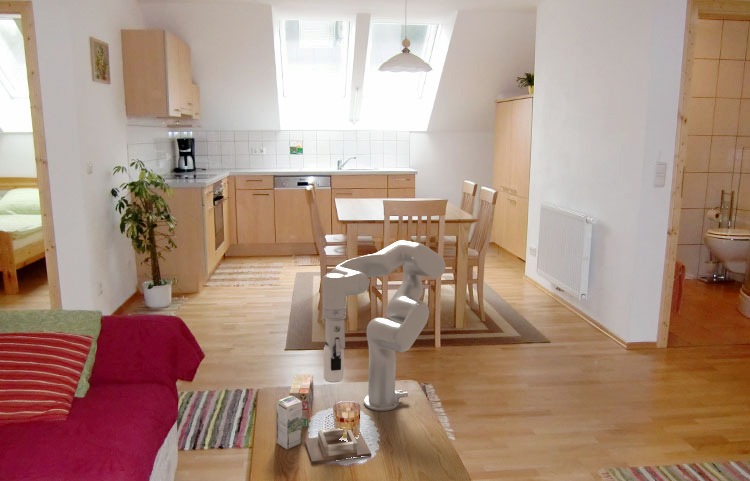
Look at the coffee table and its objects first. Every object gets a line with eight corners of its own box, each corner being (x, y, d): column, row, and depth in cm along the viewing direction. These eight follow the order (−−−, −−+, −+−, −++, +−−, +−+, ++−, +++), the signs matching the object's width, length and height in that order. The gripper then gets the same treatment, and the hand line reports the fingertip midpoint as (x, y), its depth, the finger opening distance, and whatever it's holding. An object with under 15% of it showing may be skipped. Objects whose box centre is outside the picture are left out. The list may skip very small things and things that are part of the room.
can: (347, 379, 189) (348, 343, 187) (332, 384, 184) (333, 348, 182) (334, 373, 193) (334, 338, 191) (319, 378, 189) (319, 343, 186)
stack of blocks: (296, 397, 212) (296, 366, 210) (313, 398, 213) (313, 366, 210) (289, 427, 191) (289, 392, 189) (308, 427, 192) (308, 392, 189)
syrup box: (291, 436, 185) (290, 394, 182) (302, 444, 181) (302, 400, 178) (276, 443, 181) (275, 399, 179) (287, 450, 177) (287, 406, 174)
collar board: (360, 434, 187) (360, 423, 186) (371, 456, 175) (371, 443, 174) (304, 441, 182) (304, 430, 182) (312, 464, 170) (311, 451, 169)
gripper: (351, 320, 177) (350, 375, 181) (340, 304, 194) (339, 354, 197) (327, 321, 175) (327, 377, 179) (318, 305, 192) (317, 356, 195)
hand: (333, 365), depth 188 cm, fingers closed on can, 6 cm apart
